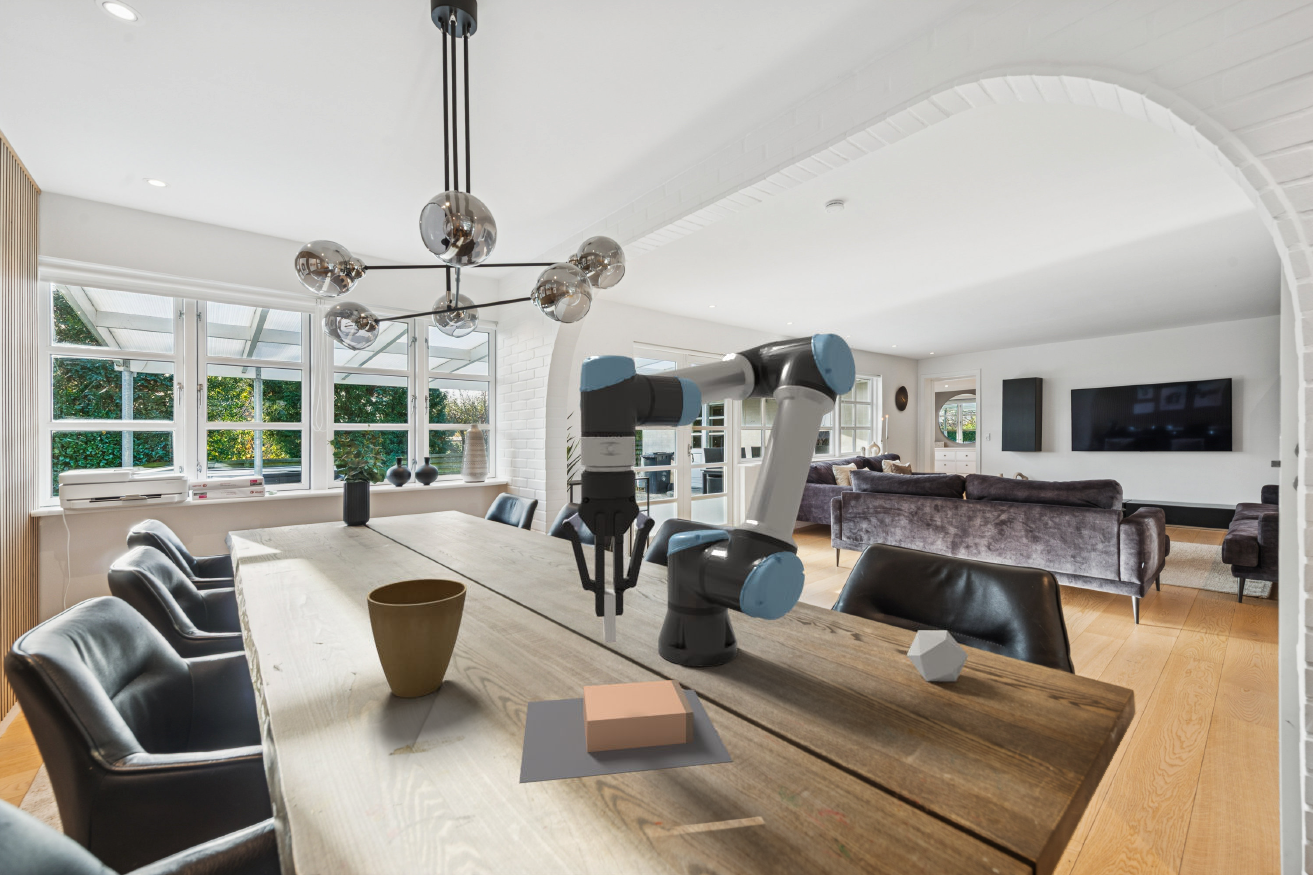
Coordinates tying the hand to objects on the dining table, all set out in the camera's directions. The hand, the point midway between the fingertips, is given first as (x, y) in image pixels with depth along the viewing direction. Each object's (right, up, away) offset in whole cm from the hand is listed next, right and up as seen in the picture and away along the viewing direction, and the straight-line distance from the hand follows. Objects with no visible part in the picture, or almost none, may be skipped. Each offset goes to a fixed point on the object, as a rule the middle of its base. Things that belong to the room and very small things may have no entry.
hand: (609, 638), depth 76 cm
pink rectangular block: (-3, -11, -1) cm, 11 cm away
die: (+55, -14, +19) cm, 60 cm away
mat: (+2, -13, 0) cm, 13 cm away
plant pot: (-32, -13, +13) cm, 37 cm away
